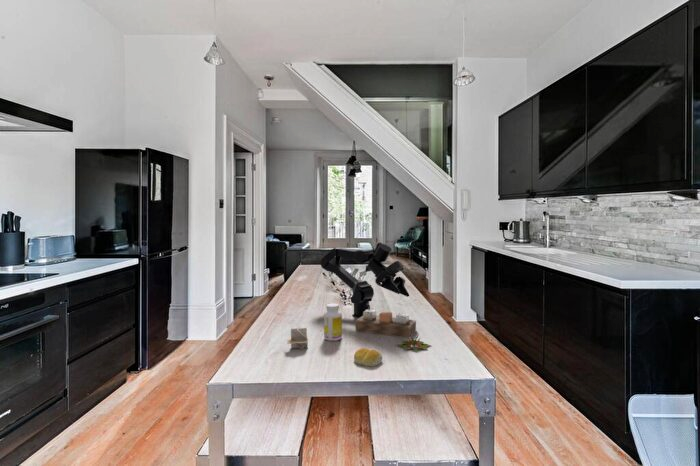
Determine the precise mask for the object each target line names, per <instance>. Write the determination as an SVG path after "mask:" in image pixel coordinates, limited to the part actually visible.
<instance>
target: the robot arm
mask: <svg viewBox="0 0 700 466" xmlns="http://www.w3.org/2000/svg"><path fill="white" fill-rule="evenodd" d="M391 252H392V248H391V247H390V246H389V245H387V244H385V243H382V242H377V243H376V247H375V248H374V250H373V249H362V250H356V249H351V248H346V247H345V248H343V247H333V248H332V249H331V250H330V251H329V252H328V253H326V254H325V255H324V256H323V257H322V258H321V260H320V266H321V268H322V269H323V270H324V271H327V272H331V273H333V274H334V275H335V276H336V277H338V278H339V279H340V280H341V281H342V282H343V283H345V285H346V286H348V287H349V288H350V289H351V291H352V296H351V297H350V302H351V304H353V314H352V317H357V318H360V317H362V316H363V312H364V311H365V310H367V309H368V310H371V305H370V302H372V299H373V297H374V295H375V291H374V288H373V287H372V284H370V283H368V281H366V280H363V281H360V280H358V279H357V278H356V277H355V276H353V275H352V274H351V273H350V272H349V271H348V270H346V269H345V268H344V267H343V266H342V265H341V260H342V258H346V259H350V260H351V259H352V260H354V261H355V262H357V263H359V264H361V265H362V264H367V265H365V270H364V271H365V272H366V273H367V272H372V273H373V275H374V277H375V279H374V281H375V284H376V285H377V286H378V287H381V288H383V289H386V290H388V291H391V292H392V293H394V294H397V295H402V296H404V297H407V298H408V297H410V294H409V292H408V290H407V288H406V287H405V284H406V279H405V278H404V277H401V276H397V273H400V272H402V271H403V270H405V268H404V265H403V264H402V262H401V261H398V260H396V261H394V262H392V263H391V264H389V265H388V266H386V265H385V264H384V262H387V260H388V258H389V256H390V254H391Z"/></svg>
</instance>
